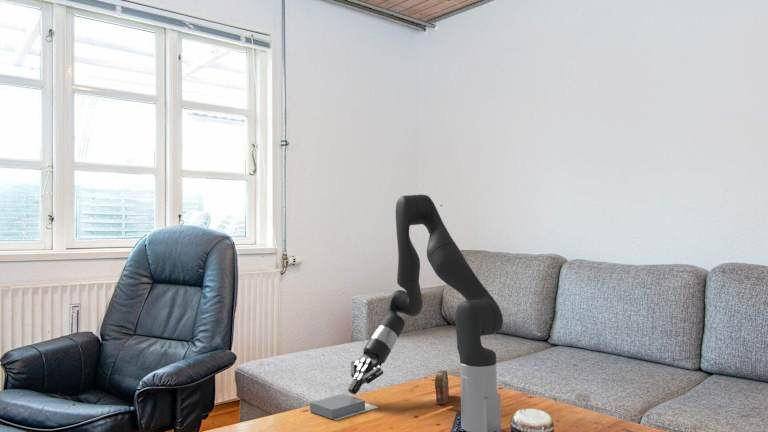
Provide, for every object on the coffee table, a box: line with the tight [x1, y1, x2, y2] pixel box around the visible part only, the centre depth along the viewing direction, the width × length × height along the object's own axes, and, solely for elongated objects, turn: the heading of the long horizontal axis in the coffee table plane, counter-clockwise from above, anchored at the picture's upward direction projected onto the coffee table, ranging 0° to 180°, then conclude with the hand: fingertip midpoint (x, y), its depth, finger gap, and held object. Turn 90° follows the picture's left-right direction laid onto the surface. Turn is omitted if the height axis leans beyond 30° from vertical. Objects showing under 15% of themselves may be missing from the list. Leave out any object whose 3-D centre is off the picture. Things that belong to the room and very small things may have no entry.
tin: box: [434, 369, 450, 405], centre depth 169 cm, size 15×3×8 cm, turn 168°
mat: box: [332, 402, 379, 421], centre depth 160 cm, size 12×16×1 cm
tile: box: [309, 393, 366, 420], centre depth 158 cm, size 10×3×12 cm
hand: (351, 392), depth 162 cm, fingers closed
